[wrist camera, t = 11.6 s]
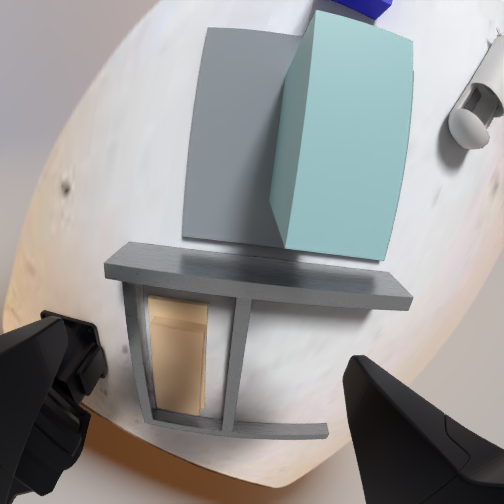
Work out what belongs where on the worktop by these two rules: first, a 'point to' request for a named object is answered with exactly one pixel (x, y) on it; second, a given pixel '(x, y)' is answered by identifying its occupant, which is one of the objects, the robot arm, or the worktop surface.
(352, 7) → the blue piece
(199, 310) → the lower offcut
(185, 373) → the upper offcut
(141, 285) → the rack
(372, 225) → the pale teal block
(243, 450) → the worktop surface
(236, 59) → the rubber mat
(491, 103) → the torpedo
